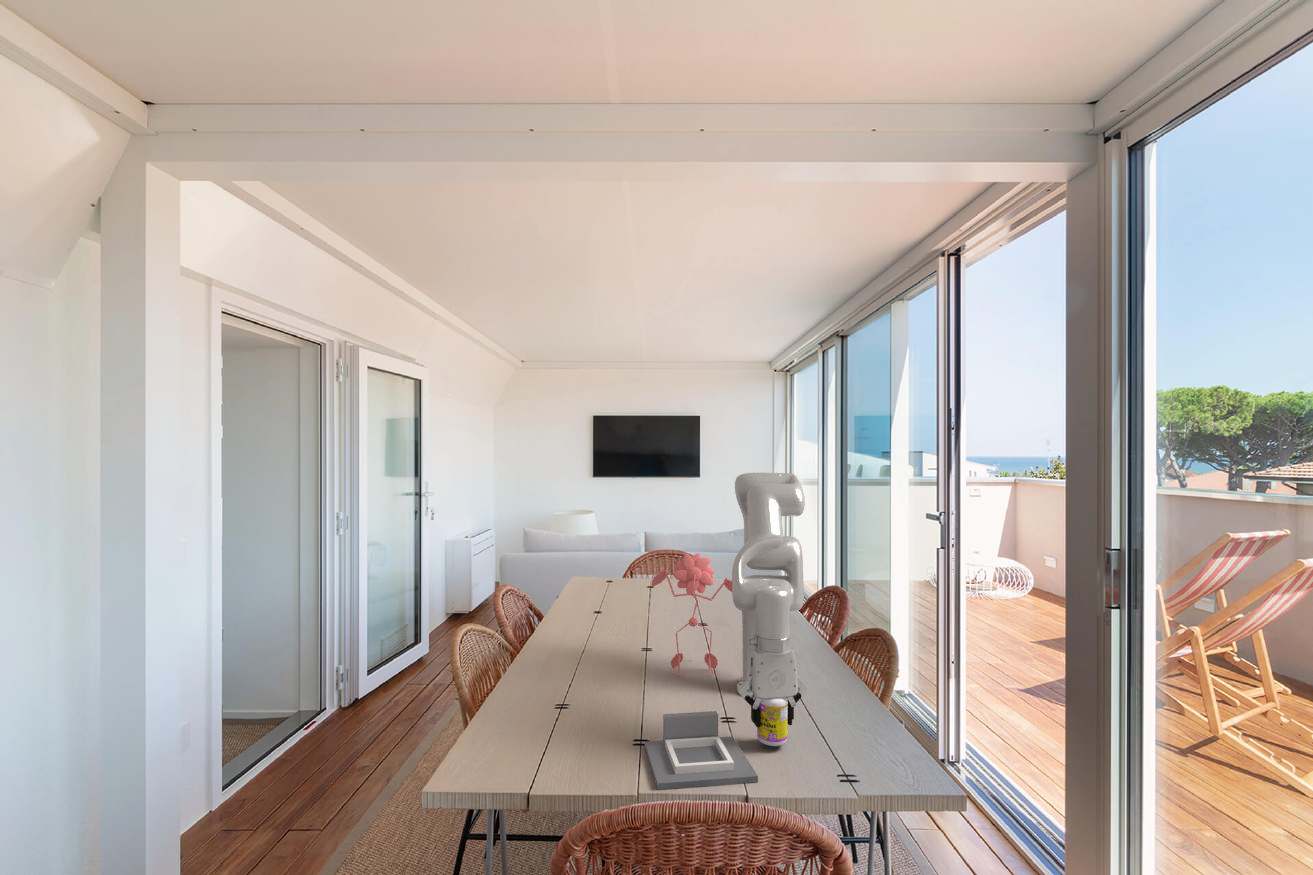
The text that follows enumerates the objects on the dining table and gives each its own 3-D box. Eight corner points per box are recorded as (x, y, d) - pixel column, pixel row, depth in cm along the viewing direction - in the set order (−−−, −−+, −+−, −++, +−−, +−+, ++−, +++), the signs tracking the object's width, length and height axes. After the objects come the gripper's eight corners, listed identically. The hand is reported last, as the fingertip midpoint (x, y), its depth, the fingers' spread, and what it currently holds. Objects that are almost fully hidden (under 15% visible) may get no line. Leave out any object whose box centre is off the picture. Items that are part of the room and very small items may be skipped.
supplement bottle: (751, 739, 139) (751, 681, 139) (768, 730, 144) (768, 674, 144) (776, 750, 134) (776, 690, 134) (793, 740, 139) (793, 682, 139)
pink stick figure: (739, 677, 183) (738, 556, 185) (650, 676, 183) (651, 556, 185) (734, 661, 198) (733, 550, 200) (652, 661, 198) (652, 549, 201)
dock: (644, 747, 138) (645, 714, 138) (732, 741, 141) (732, 709, 141) (657, 789, 120) (657, 751, 120) (757, 782, 123) (757, 744, 123)
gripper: (739, 650, 134) (739, 733, 134) (816, 646, 137) (816, 728, 137) (730, 639, 142) (730, 718, 141) (803, 636, 144) (802, 714, 144)
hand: (772, 722), depth 139 cm, fingers closed on supplement bottle, 6 cm apart
